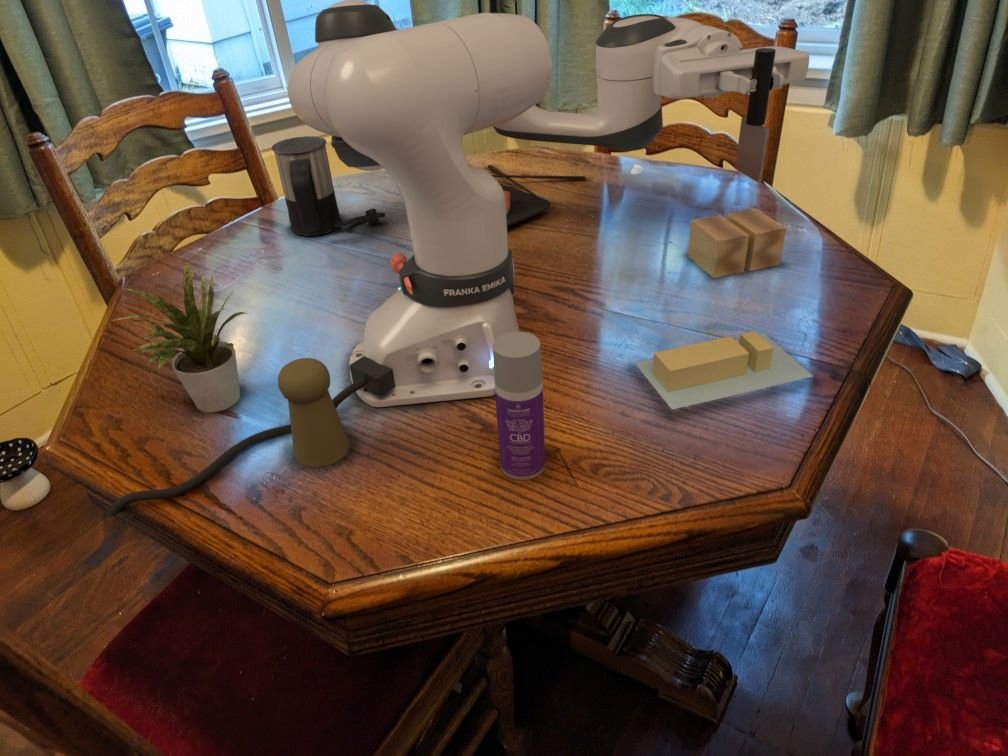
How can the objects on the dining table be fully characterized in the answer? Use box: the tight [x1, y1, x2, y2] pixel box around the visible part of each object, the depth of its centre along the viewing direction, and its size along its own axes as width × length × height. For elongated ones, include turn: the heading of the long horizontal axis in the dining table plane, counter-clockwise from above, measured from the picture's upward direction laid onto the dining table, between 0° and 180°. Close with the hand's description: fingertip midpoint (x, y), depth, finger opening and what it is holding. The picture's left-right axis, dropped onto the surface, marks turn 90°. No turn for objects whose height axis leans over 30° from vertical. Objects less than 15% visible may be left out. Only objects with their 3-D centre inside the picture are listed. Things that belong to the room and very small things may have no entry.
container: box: [493, 331, 546, 481], centre depth 72 cm, size 5×5×15 cm
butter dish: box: [633, 333, 814, 410], centre depth 87 cm, size 18×10×1 cm, turn 106°
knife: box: [734, 48, 776, 184], centre depth 95 cm, size 2×6×16 cm, turn 16°
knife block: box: [687, 208, 787, 279], centre depth 109 cm, size 11×8×6 cm
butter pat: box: [738, 330, 774, 372], centre depth 86 cm, size 2×4×3 cm, turn 16°
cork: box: [277, 357, 351, 468], centre depth 77 cm, size 6×6×11 cm
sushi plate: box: [487, 164, 586, 227], centre depth 138 cm, size 29×30×4 cm
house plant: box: [111, 261, 251, 413], centre depth 85 cm, size 14×14×16 cm
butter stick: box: [653, 335, 749, 392], centre depth 85 cm, size 10×4×3 cm, turn 106°
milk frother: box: [270, 135, 386, 237], centre depth 126 cm, size 14×16×15 cm
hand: (764, 85), depth 92 cm, fingers closed on knife, 2 cm apart
